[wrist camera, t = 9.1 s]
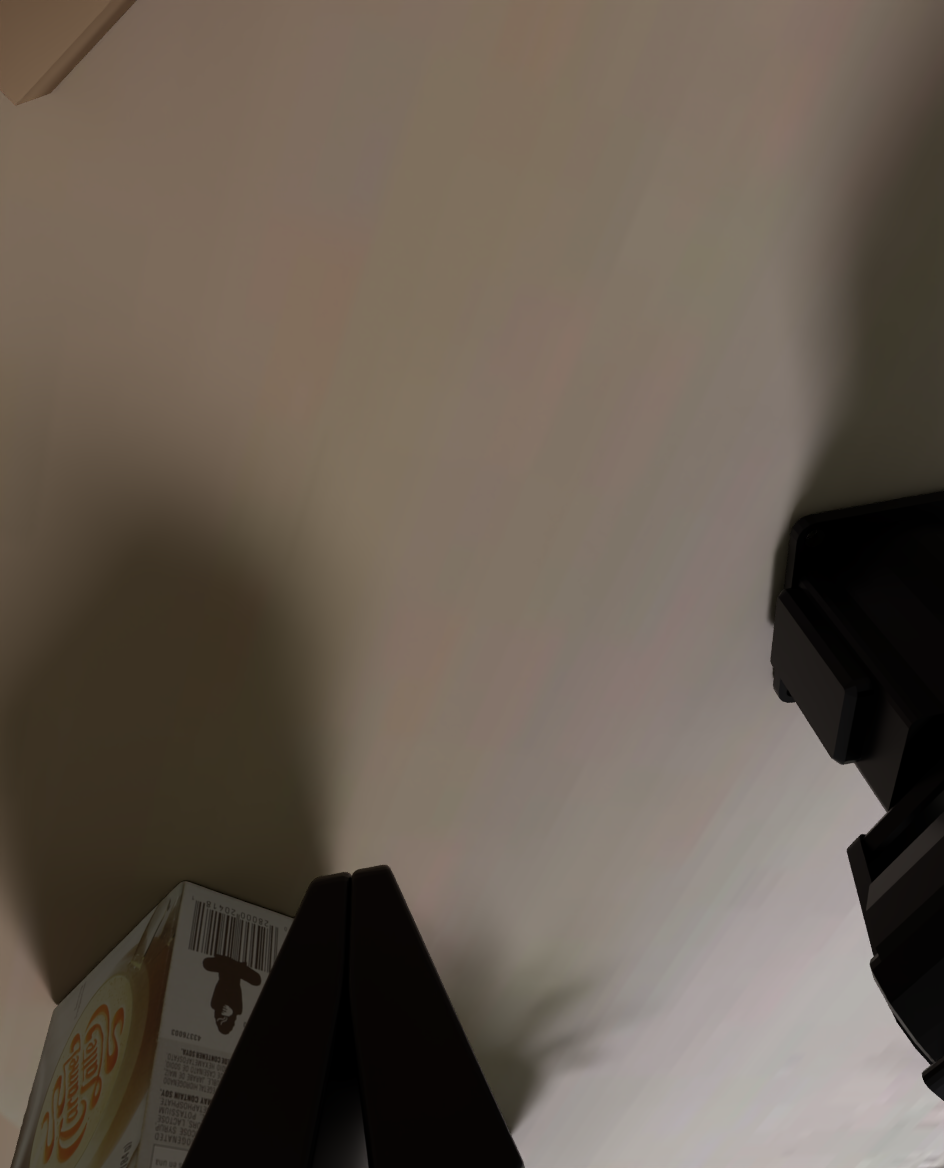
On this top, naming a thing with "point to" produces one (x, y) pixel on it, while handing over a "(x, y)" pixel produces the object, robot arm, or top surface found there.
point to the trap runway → (49, 41)
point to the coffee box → (149, 1035)
